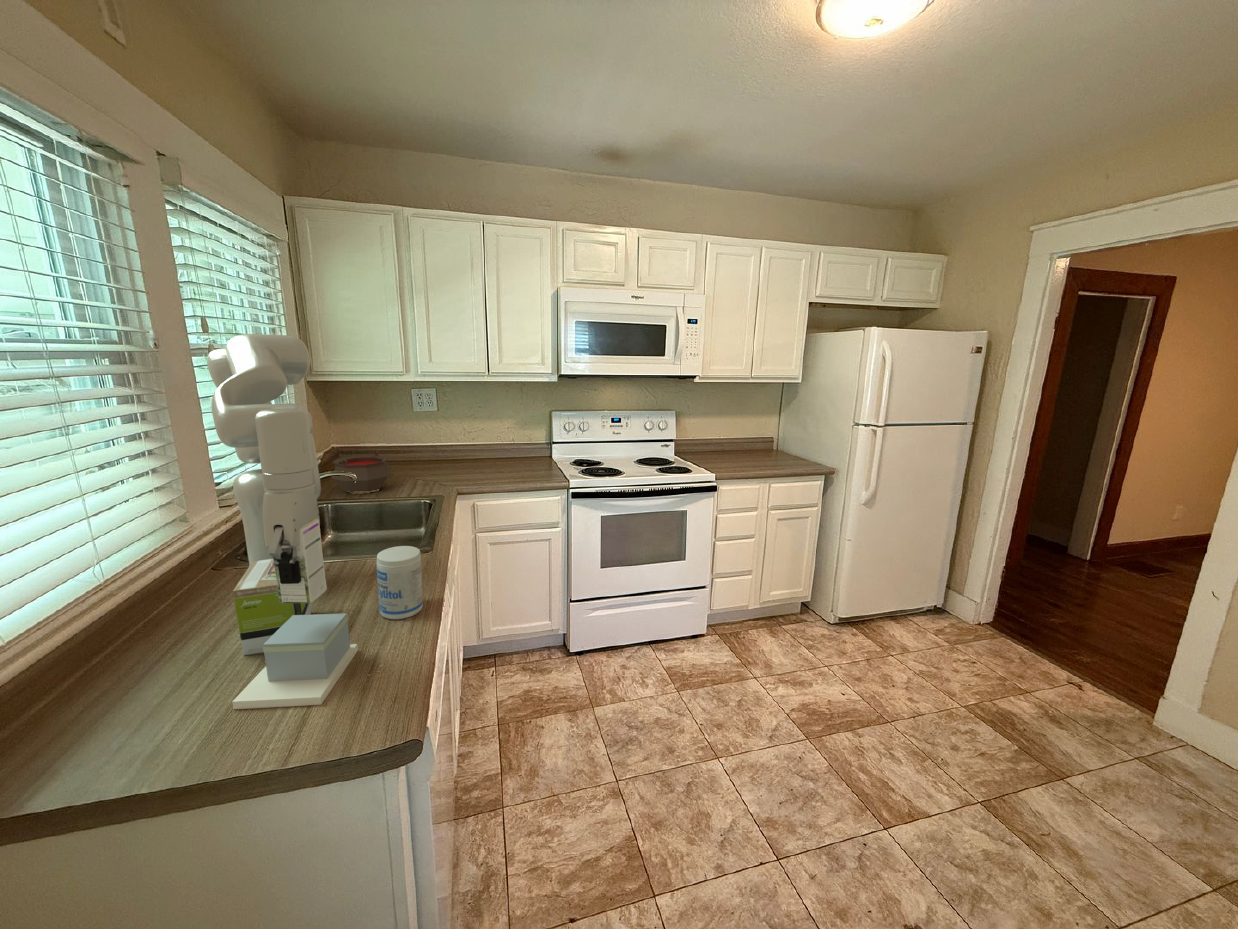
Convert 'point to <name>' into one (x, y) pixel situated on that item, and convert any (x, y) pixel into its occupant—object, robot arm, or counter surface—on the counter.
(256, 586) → the tea box
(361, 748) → the counter surface
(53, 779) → the counter surface
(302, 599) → the syrup box
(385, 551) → the supplement tub
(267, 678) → the stand
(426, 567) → the counter surface
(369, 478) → the dark round pot
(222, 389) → the robot arm
